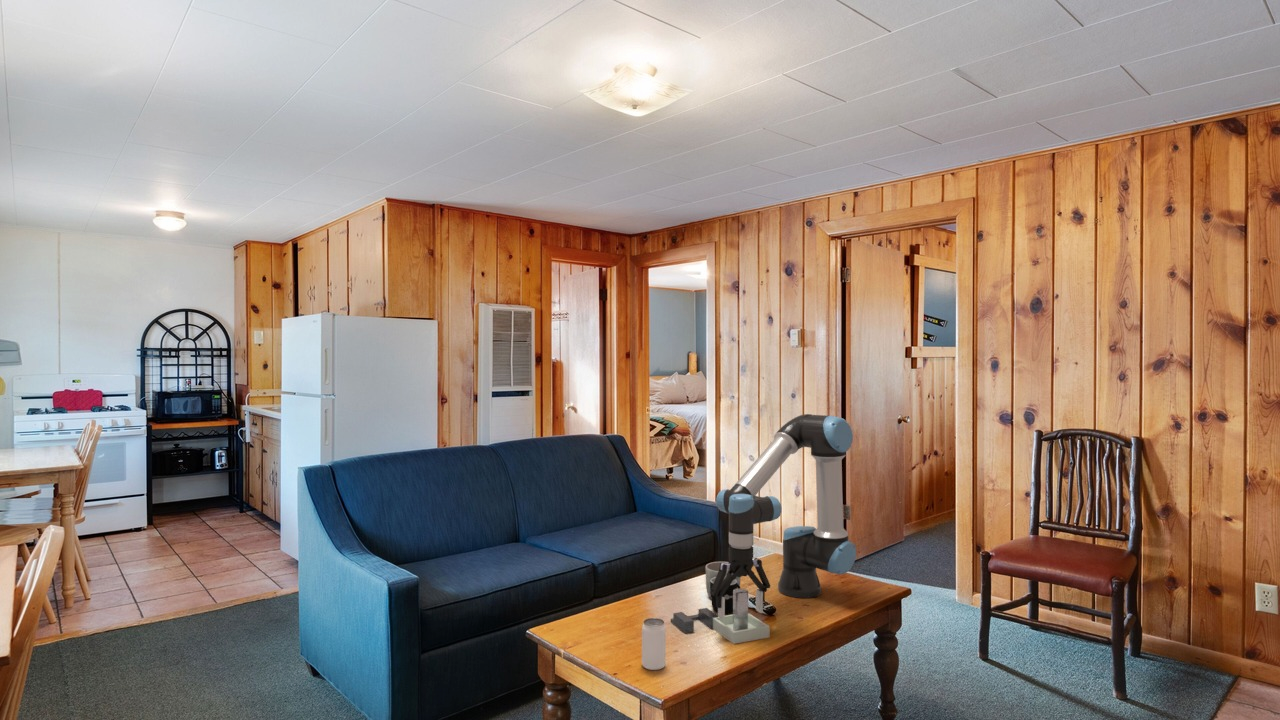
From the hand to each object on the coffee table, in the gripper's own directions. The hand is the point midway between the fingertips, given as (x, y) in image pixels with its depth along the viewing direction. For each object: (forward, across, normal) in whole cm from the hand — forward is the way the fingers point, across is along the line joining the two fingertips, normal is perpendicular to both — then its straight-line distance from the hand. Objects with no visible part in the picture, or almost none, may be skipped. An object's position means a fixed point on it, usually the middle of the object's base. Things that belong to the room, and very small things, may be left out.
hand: (740, 614), depth 210 cm
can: (+6, +34, +10) cm, 36 cm away
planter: (+6, -11, -29) cm, 32 cm away
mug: (+6, -6, -18) cm, 20 cm away
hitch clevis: (+6, +10, -10) cm, 15 cm away
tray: (+6, 0, 0) cm, 6 cm away
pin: (+5, 0, 0) cm, 5 cm away
